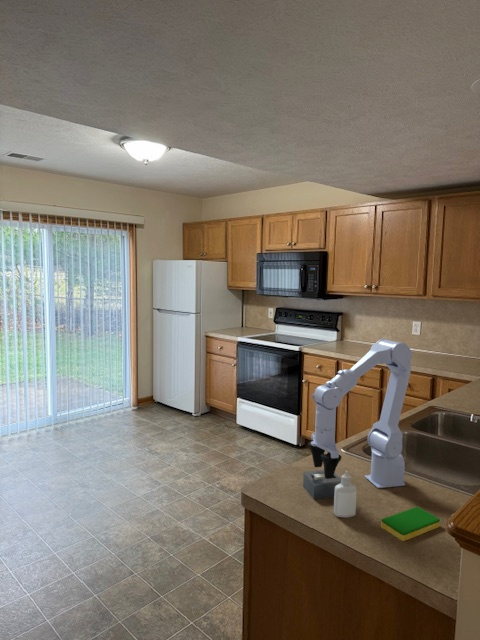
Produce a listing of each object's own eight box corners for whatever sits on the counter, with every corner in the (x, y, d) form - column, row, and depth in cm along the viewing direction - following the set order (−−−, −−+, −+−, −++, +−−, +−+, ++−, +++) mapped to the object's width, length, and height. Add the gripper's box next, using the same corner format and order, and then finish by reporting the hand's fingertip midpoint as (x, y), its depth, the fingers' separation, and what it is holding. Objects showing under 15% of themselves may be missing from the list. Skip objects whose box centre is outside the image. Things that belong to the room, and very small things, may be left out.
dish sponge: (380, 528, 112) (380, 519, 112) (416, 514, 119) (417, 506, 118) (402, 543, 106) (403, 533, 105) (440, 528, 112) (440, 519, 112)
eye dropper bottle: (353, 521, 114) (356, 476, 113) (332, 516, 116) (334, 472, 115) (356, 513, 118) (358, 469, 117) (335, 508, 120) (337, 465, 119)
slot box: (330, 483, 135) (331, 469, 134) (342, 496, 127) (343, 480, 126) (303, 486, 132) (303, 471, 132) (313, 499, 125) (314, 483, 124)
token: (328, 489, 131) (329, 473, 131) (331, 492, 129) (332, 476, 129) (313, 490, 130) (313, 474, 130) (315, 493, 128) (316, 477, 128)
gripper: (302, 420, 134) (301, 463, 135) (322, 436, 120) (320, 484, 121) (324, 418, 136) (322, 461, 137) (346, 435, 122) (344, 482, 123)
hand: (323, 472), depth 129 cm, fingers open, 7 cm apart
